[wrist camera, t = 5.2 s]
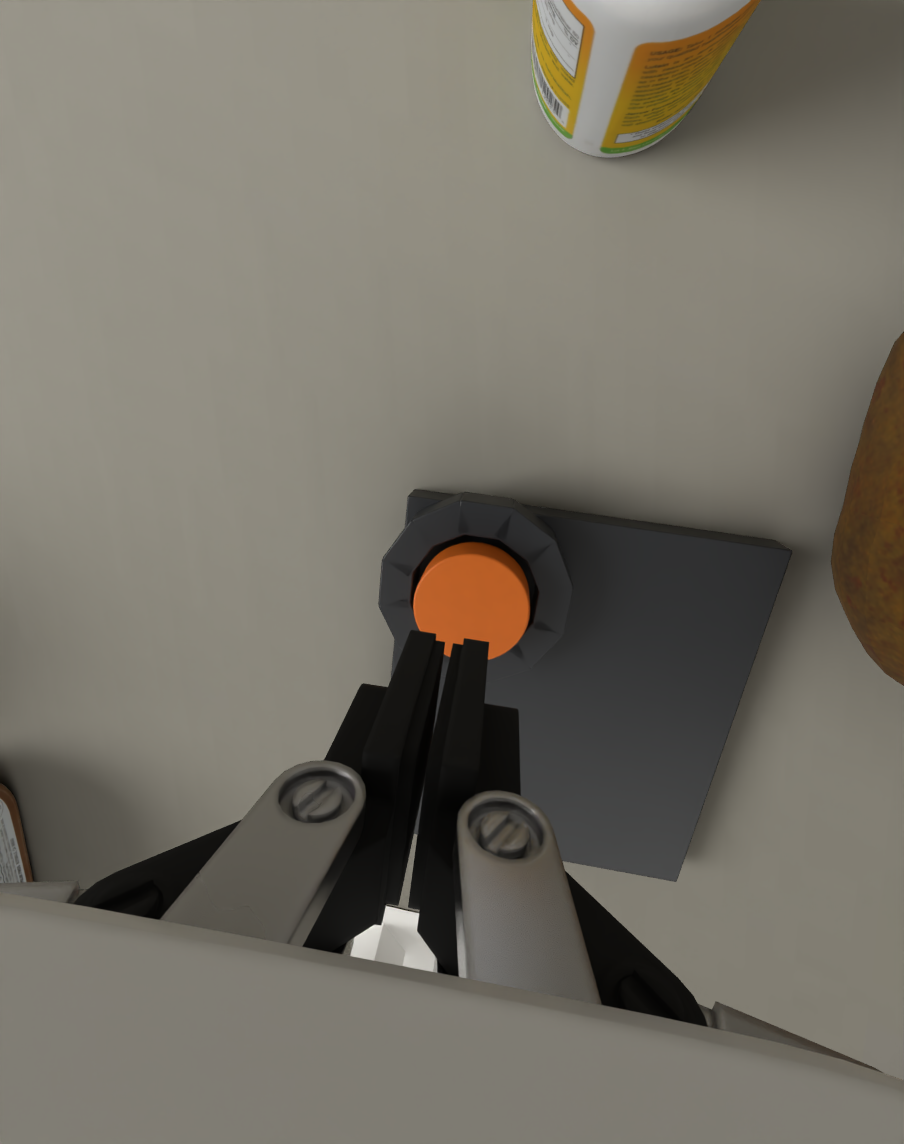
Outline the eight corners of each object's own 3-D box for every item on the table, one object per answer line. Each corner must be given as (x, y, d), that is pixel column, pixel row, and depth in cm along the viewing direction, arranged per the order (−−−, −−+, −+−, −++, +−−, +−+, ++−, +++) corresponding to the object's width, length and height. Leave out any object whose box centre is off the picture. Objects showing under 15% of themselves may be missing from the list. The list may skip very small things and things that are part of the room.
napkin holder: (193, 997, 33) (131, 1114, 28) (191, 861, 30) (119, 966, 24) (430, 1052, 33) (413, 1184, 27) (459, 919, 29) (446, 1042, 23)
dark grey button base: (403, 476, 21) (387, 489, 18) (779, 528, 20) (822, 551, 17) (374, 804, 27) (358, 853, 24) (668, 857, 26) (687, 915, 23)
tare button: (425, 533, 19) (418, 545, 18) (537, 550, 19) (539, 563, 17) (415, 633, 21) (407, 652, 19) (519, 650, 20) (520, 671, 19)
